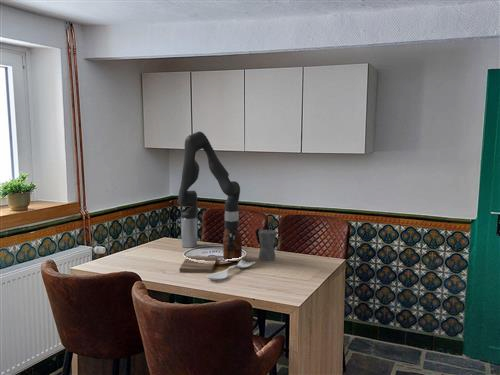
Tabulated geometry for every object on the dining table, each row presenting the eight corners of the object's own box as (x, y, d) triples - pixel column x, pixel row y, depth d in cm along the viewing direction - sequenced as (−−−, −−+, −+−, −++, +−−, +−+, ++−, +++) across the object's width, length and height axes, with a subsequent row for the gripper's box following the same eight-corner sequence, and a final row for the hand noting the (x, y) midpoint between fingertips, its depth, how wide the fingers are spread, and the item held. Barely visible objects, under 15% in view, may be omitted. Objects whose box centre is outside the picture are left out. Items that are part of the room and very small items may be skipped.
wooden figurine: (219, 260, 259) (219, 227, 257) (225, 257, 265) (224, 225, 262) (238, 263, 254) (238, 229, 252) (244, 260, 260) (244, 227, 257)
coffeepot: (282, 259, 260) (282, 227, 258) (269, 263, 254) (270, 229, 251) (261, 254, 271) (261, 222, 269) (249, 257, 265) (249, 225, 262)
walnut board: (187, 259, 261) (187, 256, 260) (217, 260, 260) (217, 256, 260) (179, 272, 239) (179, 268, 239) (211, 272, 238) (211, 268, 238)
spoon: (256, 267, 248) (256, 260, 248) (218, 284, 222) (218, 277, 222) (242, 264, 253) (242, 257, 253) (202, 280, 227) (202, 273, 227)
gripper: (225, 216, 264) (226, 246, 266) (223, 222, 250) (223, 253, 252) (239, 216, 263) (239, 246, 266) (237, 222, 249) (237, 253, 251)
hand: (231, 249), depth 259 cm, fingers closed on wooden figurine, 7 cm apart
